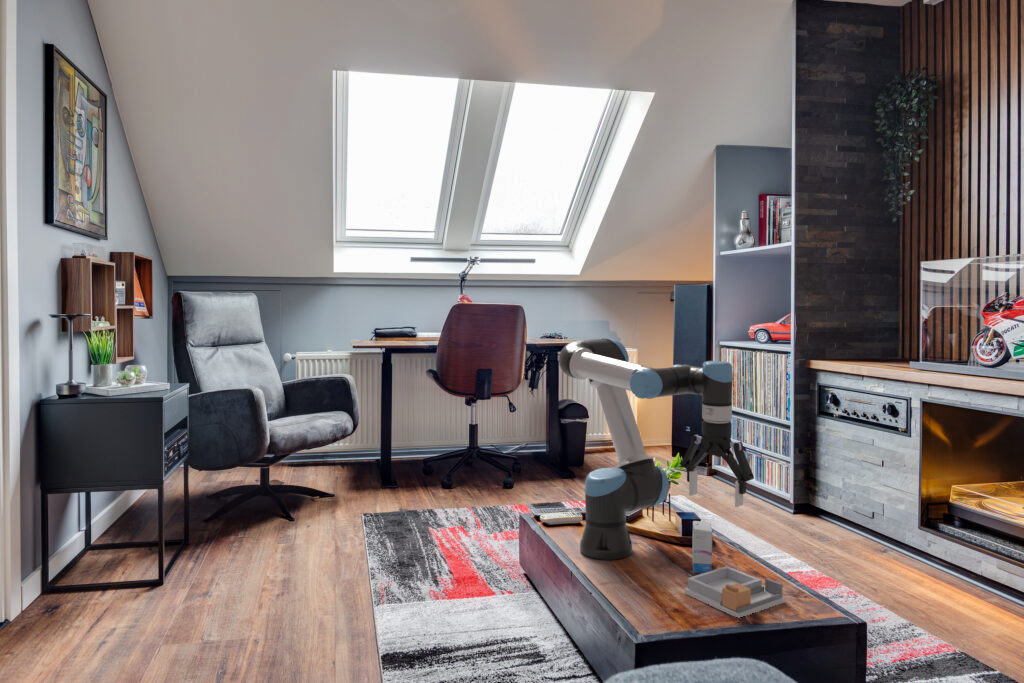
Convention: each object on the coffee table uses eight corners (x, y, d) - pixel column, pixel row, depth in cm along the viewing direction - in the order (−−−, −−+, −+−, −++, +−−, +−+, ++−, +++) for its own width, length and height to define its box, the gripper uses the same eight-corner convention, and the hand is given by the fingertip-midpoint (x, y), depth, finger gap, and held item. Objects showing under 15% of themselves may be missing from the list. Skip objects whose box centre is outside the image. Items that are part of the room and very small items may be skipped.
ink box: (712, 574, 190) (712, 530, 190) (693, 573, 191) (693, 529, 191) (710, 562, 199) (710, 520, 198) (692, 561, 200) (691, 519, 199)
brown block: (722, 604, 168) (722, 584, 168) (737, 599, 171) (737, 580, 170) (735, 611, 165) (735, 590, 164) (750, 605, 167) (750, 585, 167)
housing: (684, 593, 178) (684, 577, 178) (729, 579, 187) (729, 563, 187) (739, 618, 164) (739, 600, 164) (784, 602, 172) (784, 584, 172)
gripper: (668, 416, 194) (667, 492, 196) (753, 429, 176) (752, 514, 178) (684, 412, 200) (683, 487, 201) (768, 425, 181) (766, 507, 183)
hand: (715, 500), depth 190 cm, fingers open, 13 cm apart
